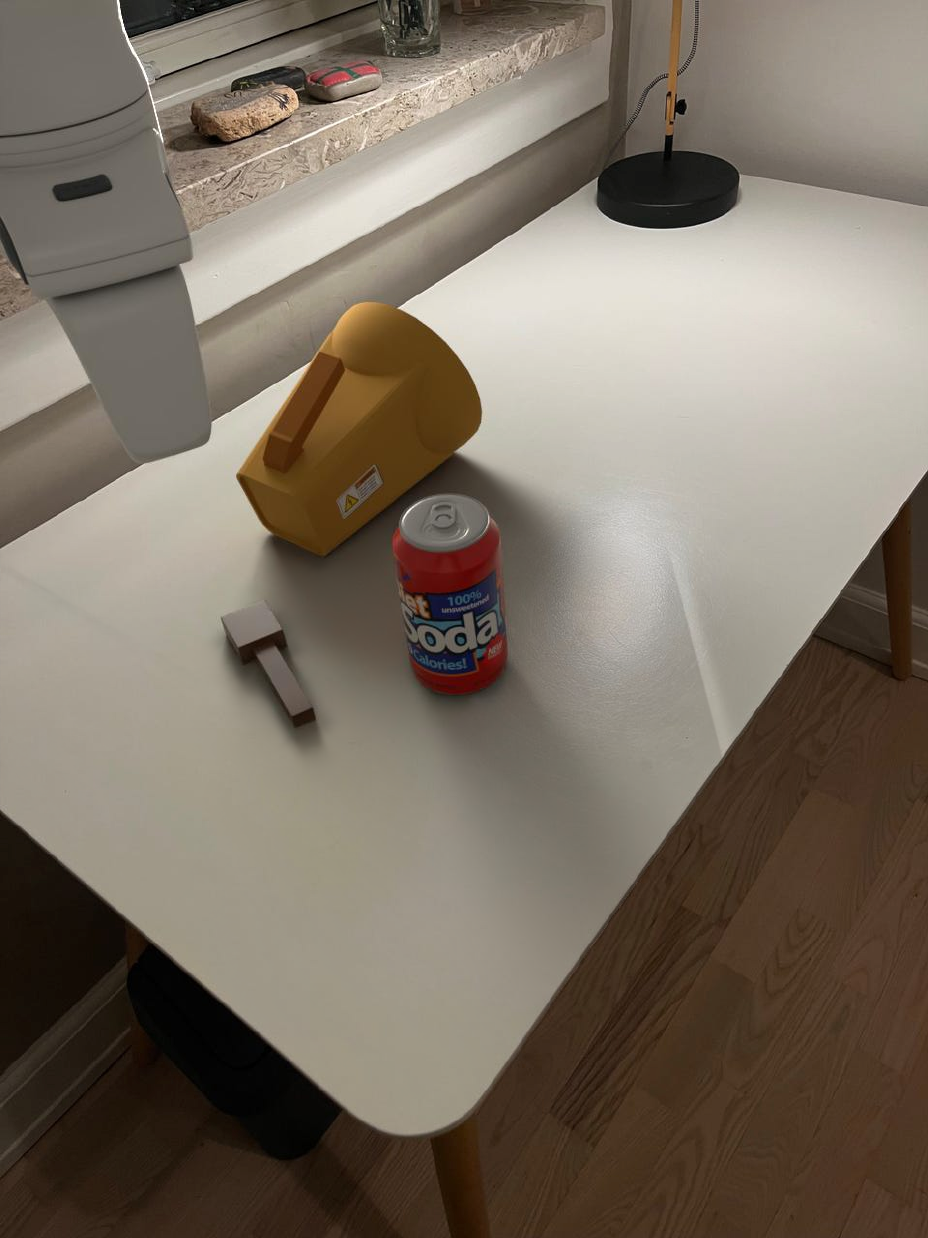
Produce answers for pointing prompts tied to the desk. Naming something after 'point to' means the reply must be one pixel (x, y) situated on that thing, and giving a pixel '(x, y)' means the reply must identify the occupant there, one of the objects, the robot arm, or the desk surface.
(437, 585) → the soda can
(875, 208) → the desk surface
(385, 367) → the flared yellow plastic housing
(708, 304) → the desk surface
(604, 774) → the desk surface
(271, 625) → the wooden mallet
